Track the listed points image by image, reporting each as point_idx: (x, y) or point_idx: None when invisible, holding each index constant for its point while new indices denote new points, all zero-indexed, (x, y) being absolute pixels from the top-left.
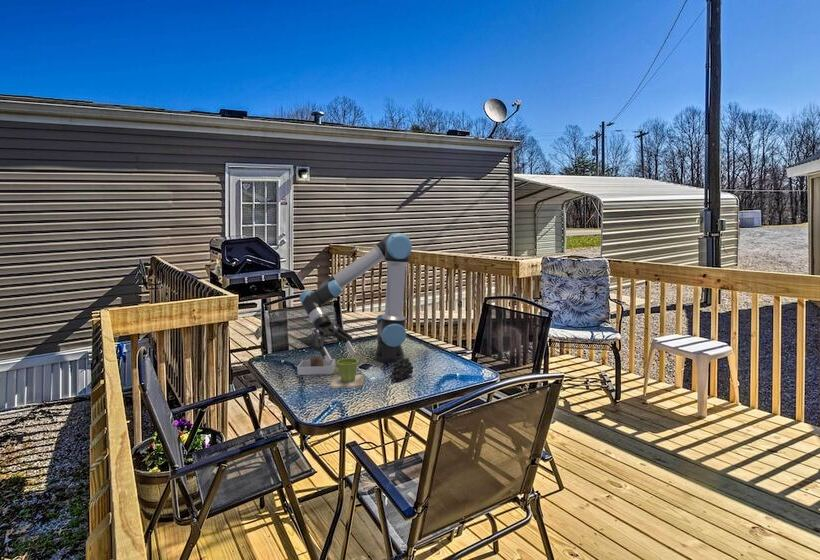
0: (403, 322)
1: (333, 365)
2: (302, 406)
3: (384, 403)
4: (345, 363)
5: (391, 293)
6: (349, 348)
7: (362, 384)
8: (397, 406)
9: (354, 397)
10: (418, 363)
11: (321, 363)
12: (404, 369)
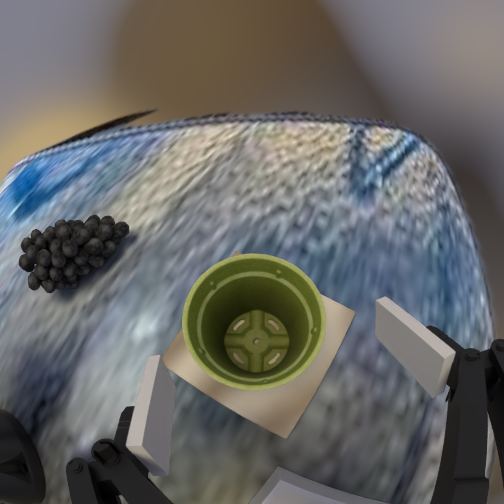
0: None
1: None
2: (444, 216)
3: (250, 132)
4: (243, 376)
5: None
6: (164, 415)
7: (232, 256)
8: (236, 114)
9: (303, 193)
10: None
11: None
12: (72, 221)
